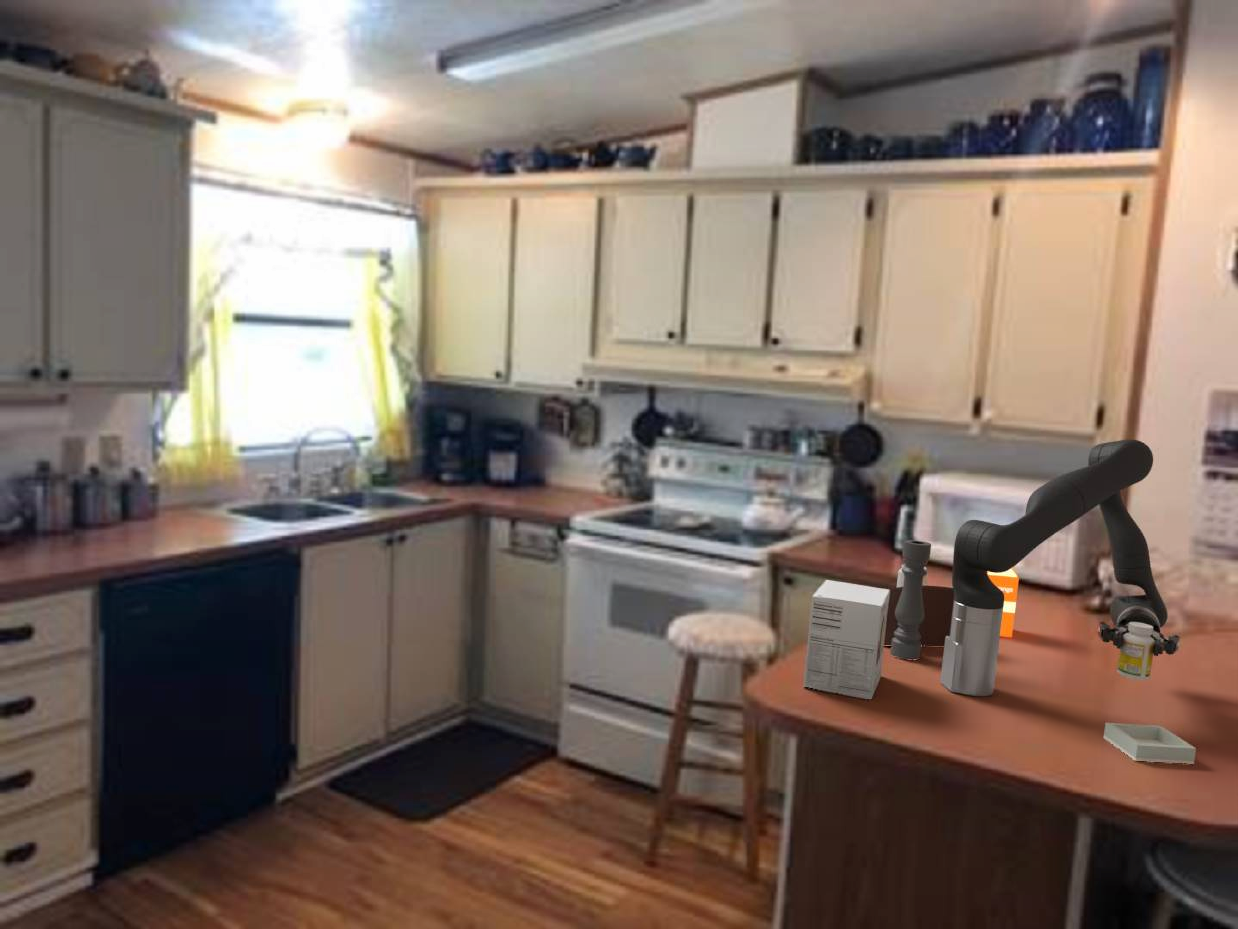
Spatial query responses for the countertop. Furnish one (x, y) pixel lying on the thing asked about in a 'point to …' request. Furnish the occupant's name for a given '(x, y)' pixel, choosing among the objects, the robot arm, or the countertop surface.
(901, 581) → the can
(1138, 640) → the supplement bottle
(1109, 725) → the square tray
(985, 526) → the robot arm
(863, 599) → the supplement box
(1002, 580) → the orange juice
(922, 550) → the candle holder
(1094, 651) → the countertop surface
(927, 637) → the letter holder
